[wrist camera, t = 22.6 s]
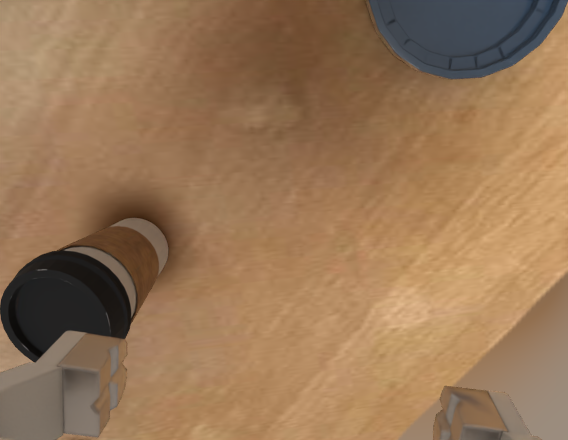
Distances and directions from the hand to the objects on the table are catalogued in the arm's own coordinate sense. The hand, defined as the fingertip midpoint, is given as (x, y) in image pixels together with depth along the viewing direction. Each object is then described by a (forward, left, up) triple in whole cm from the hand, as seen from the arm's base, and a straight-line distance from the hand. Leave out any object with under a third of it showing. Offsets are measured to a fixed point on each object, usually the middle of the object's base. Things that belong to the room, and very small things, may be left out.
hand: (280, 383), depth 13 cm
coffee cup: (-4, -18, -32) cm, 37 cm away
